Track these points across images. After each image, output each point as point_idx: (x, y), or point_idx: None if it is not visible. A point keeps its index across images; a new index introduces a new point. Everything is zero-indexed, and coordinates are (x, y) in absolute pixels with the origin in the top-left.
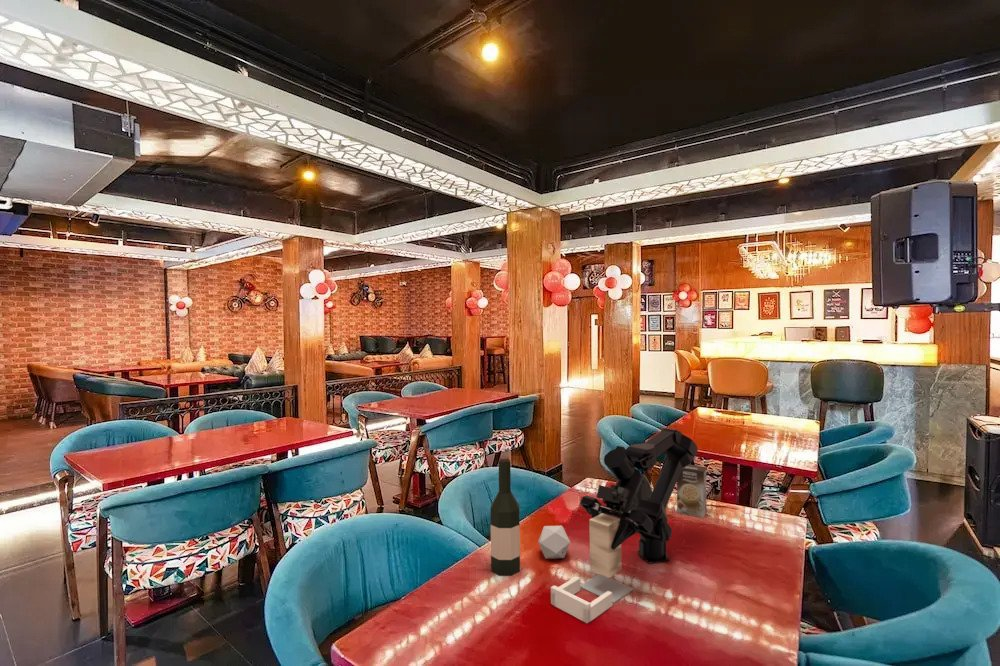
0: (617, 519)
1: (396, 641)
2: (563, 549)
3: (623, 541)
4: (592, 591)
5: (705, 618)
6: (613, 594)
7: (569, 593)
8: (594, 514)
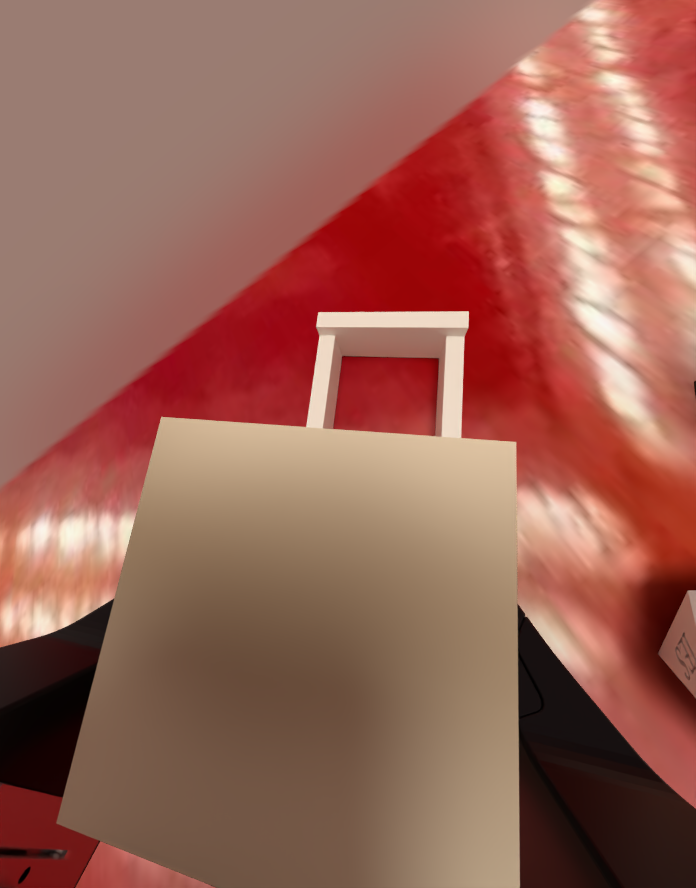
0: (104, 772)
1: (620, 31)
2: (692, 651)
3: None
4: None
5: (103, 556)
6: None
7: (395, 324)
8: (643, 830)
